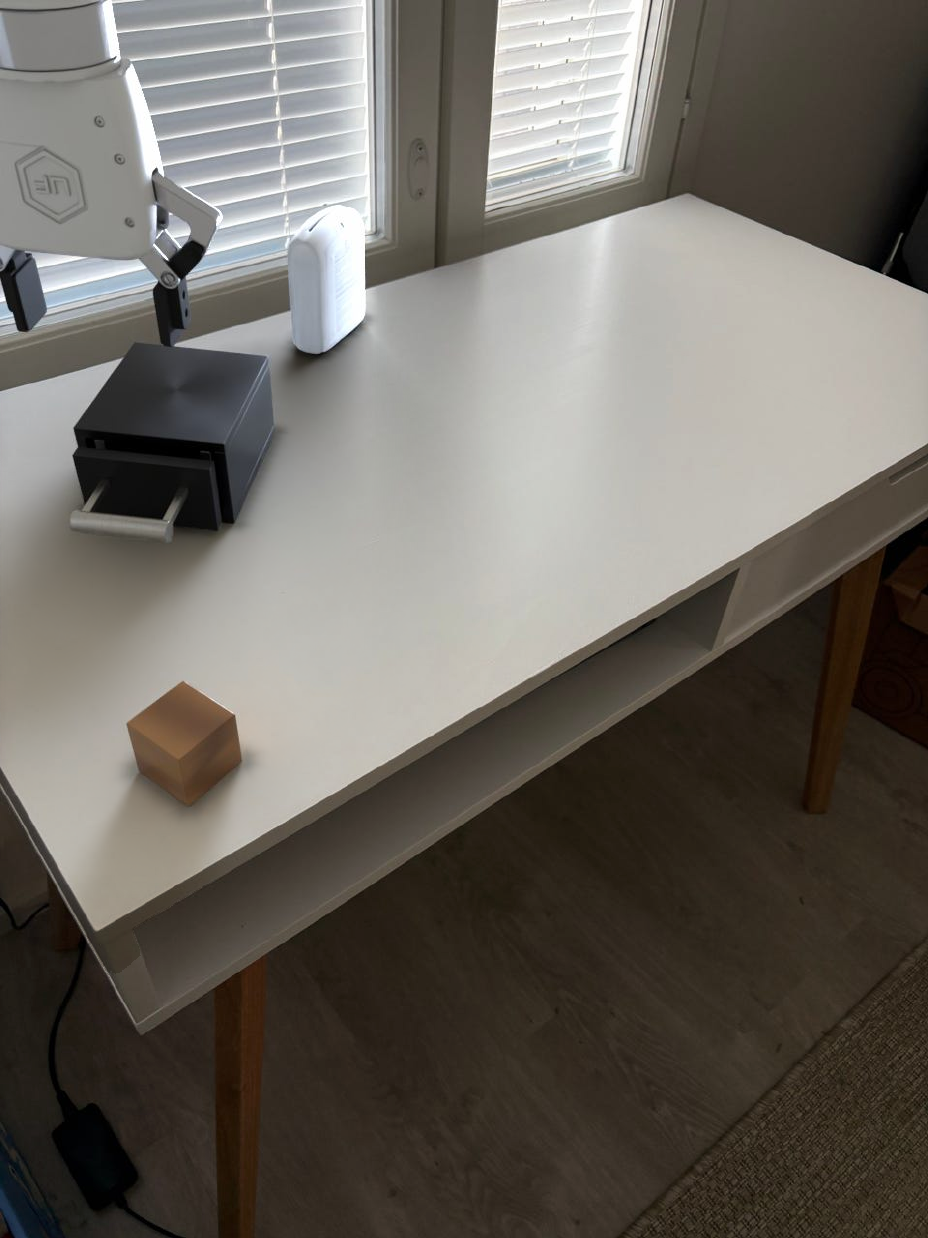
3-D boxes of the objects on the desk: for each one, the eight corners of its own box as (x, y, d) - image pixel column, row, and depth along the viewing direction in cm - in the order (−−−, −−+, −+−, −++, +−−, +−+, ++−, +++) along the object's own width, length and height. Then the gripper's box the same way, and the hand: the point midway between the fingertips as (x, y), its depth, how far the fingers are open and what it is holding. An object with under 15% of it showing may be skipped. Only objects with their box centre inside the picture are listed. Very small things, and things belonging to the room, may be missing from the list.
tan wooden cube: (188, 807, 61) (178, 760, 58) (138, 770, 63) (125, 722, 60) (242, 761, 64) (235, 714, 60) (192, 727, 65) (183, 679, 62)
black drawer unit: (234, 524, 81) (224, 443, 76) (92, 508, 81) (72, 427, 76) (275, 432, 91) (268, 355, 86) (148, 418, 91) (134, 341, 86)
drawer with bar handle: (196, 579, 74) (185, 517, 70) (58, 564, 75) (39, 501, 71) (258, 443, 88) (252, 383, 84) (141, 430, 88) (129, 371, 84)
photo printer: (335, 308, 109) (331, 191, 100) (370, 317, 108) (369, 199, 99) (286, 349, 102) (277, 227, 93) (324, 359, 101) (319, 237, 92)
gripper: (-152, 36, 52) (-53, 343, 63) (180, 67, 51) (218, 372, 63) (-80, 2, 57) (-1, 291, 69) (221, 29, 57) (249, 316, 68)
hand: (103, 329), depth 66 cm, fingers open, 9 cm apart
